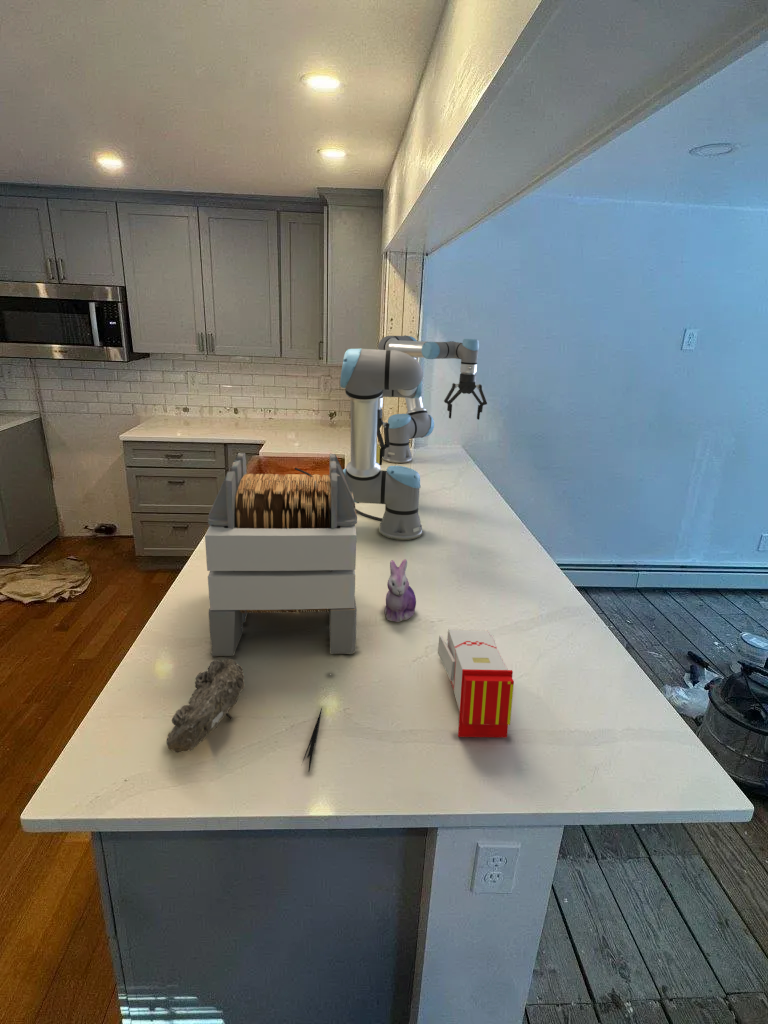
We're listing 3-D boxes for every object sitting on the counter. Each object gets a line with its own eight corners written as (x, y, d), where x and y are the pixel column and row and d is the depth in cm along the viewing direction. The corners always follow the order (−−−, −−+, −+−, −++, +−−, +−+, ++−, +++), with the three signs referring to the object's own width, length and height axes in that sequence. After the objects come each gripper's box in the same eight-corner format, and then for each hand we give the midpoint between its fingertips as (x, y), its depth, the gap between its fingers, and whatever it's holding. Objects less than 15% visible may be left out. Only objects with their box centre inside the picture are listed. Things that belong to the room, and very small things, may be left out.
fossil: (192, 660, 117) (244, 628, 112) (224, 691, 120) (276, 661, 115) (142, 746, 98) (202, 712, 93) (182, 779, 101) (242, 748, 96)
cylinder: (358, 475, 230) (359, 445, 226) (366, 471, 236) (367, 443, 232) (374, 477, 227) (375, 448, 223) (382, 474, 233) (383, 445, 229)
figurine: (392, 627, 141) (395, 572, 136) (374, 608, 149) (376, 556, 144) (425, 619, 145) (429, 566, 140) (405, 601, 154) (408, 550, 149)
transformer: (231, 587, 157) (223, 443, 143) (348, 585, 161) (352, 445, 147) (208, 658, 125) (196, 482, 112) (356, 654, 129) (361, 484, 115)
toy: (488, 613, 130) (523, 677, 101) (484, 667, 133) (517, 744, 104) (435, 612, 130) (455, 676, 101) (432, 666, 133) (451, 743, 103)
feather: (331, 679, 122) (336, 673, 122) (307, 777, 96) (313, 769, 95) (324, 675, 122) (329, 669, 121) (298, 772, 95) (304, 764, 95)
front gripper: (393, 406, 229) (391, 461, 236) (345, 406, 223) (344, 463, 230) (400, 409, 222) (397, 466, 230) (350, 409, 216) (349, 468, 224)
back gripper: (442, 373, 261) (439, 418, 269) (496, 375, 262) (491, 421, 269) (440, 371, 268) (437, 416, 276) (492, 373, 269) (488, 418, 276)
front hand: (370, 464), depth 230 cm, fingers closed on cylinder, 7 cm apart
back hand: (463, 418), depth 272 cm, fingers open, 13 cm apart
